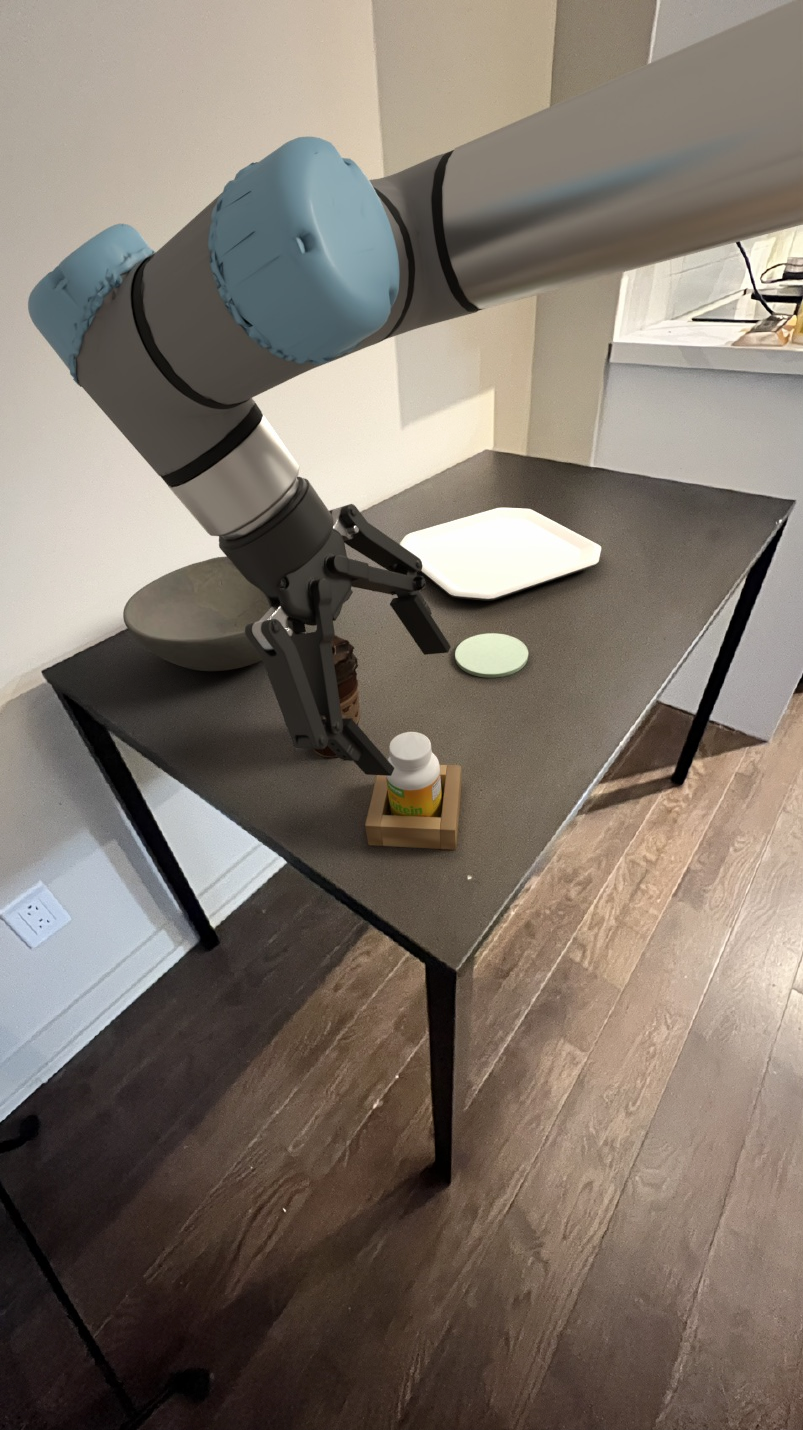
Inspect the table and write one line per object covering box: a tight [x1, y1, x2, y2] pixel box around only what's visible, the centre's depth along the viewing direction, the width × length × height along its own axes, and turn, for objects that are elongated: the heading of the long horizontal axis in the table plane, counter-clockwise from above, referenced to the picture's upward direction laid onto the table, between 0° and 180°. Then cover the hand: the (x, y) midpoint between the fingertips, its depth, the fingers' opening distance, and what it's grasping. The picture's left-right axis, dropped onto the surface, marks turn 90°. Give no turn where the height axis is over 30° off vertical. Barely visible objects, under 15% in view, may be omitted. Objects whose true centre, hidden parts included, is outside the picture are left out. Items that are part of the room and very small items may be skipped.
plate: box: [399, 507, 602, 602], centre depth 108 cm, size 29×29×2 cm
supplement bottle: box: [386, 731, 443, 818], centre depth 62 cm, size 5×5×10 cm
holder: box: [364, 764, 463, 851], centre depth 64 cm, size 9×9×3 cm
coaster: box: [454, 632, 529, 679], centre depth 86 cm, size 10×10×1 cm
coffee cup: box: [312, 634, 361, 758], centre depth 71 cm, size 9×8×13 cm
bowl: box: [122, 555, 288, 672], centre depth 90 cm, size 26×26×10 cm
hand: (410, 707), depth 55 cm, fingers open, 13 cm apart
